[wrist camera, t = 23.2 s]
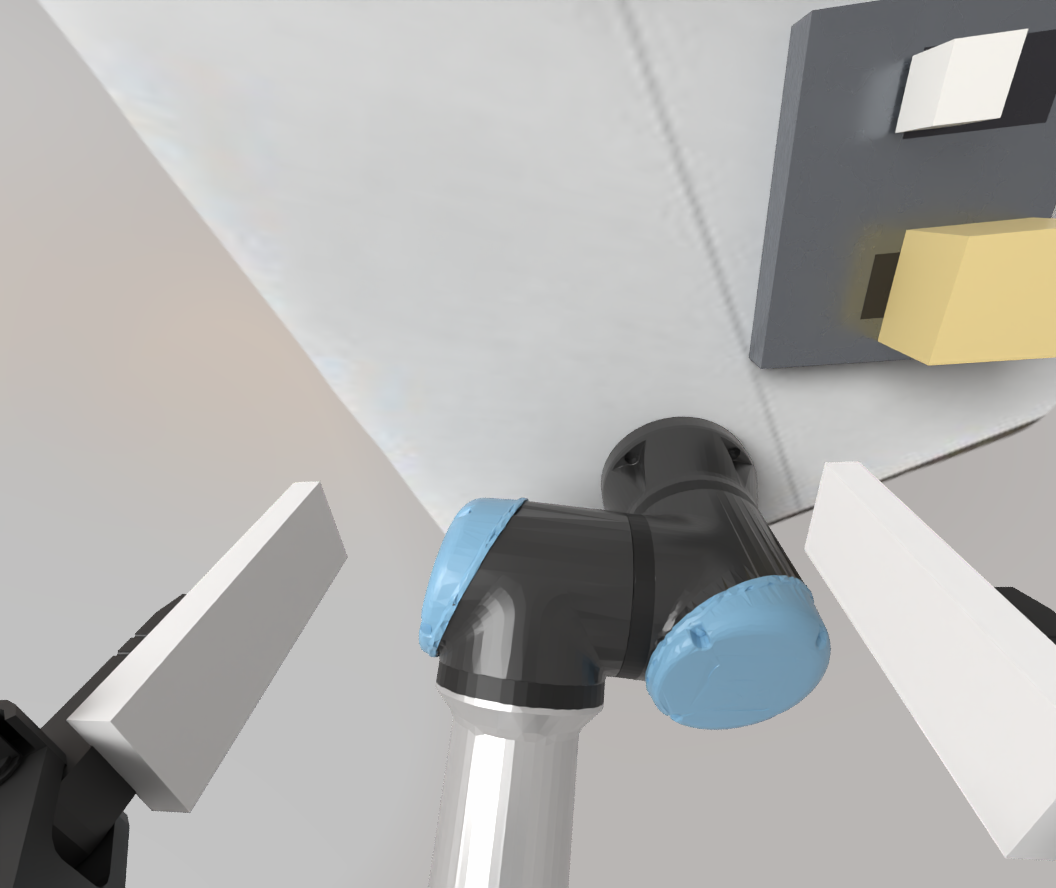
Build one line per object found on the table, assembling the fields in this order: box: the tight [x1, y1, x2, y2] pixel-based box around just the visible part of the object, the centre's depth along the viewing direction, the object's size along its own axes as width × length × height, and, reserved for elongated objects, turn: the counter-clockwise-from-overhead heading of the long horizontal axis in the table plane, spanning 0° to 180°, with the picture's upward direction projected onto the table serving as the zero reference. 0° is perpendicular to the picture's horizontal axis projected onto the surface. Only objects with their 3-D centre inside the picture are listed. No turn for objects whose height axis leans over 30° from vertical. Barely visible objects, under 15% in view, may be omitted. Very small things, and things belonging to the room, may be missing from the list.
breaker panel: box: [749, 0, 1056, 369], centre depth 34 cm, size 23×18×3 cm
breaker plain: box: [895, 29, 1028, 133], centre depth 28 cm, size 4×4×4 cm
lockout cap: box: [878, 217, 1056, 366], centre depth 32 cm, size 8×8×6 cm
